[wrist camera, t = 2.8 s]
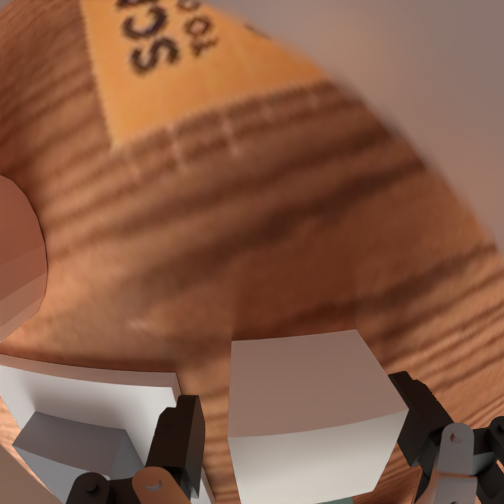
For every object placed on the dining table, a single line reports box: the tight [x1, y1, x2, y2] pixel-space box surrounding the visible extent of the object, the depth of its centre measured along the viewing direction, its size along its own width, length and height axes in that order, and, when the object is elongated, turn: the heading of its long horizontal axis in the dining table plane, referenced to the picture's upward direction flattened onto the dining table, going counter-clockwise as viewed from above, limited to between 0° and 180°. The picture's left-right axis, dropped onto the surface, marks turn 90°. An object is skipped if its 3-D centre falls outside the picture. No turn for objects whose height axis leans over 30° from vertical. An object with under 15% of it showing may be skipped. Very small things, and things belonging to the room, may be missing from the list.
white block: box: [227, 329, 409, 504], centre depth 10 cm, size 5×5×5 cm
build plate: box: [0, 354, 215, 504], centre depth 11 cm, size 12×12×4 cm
